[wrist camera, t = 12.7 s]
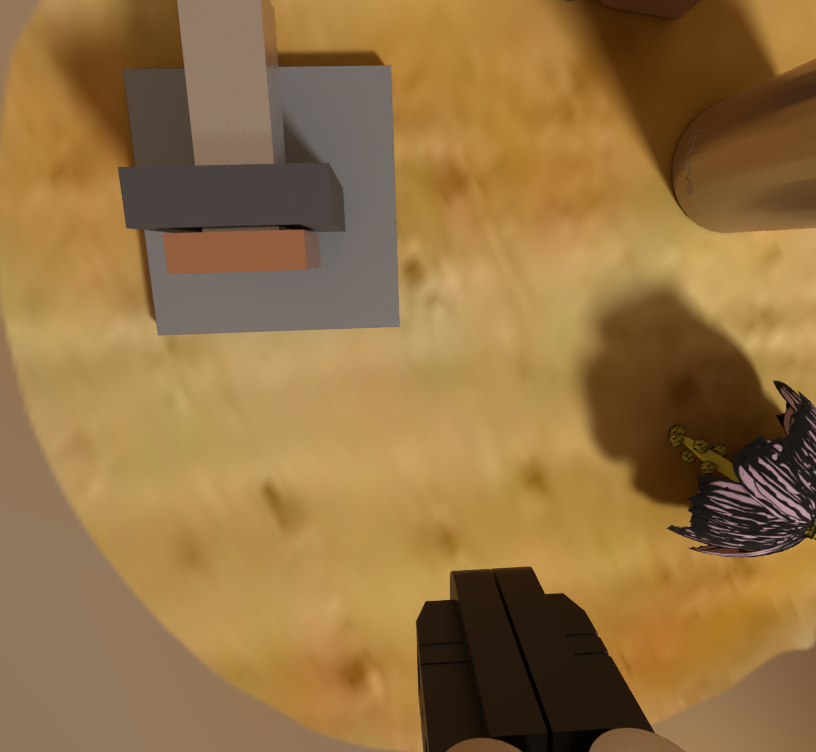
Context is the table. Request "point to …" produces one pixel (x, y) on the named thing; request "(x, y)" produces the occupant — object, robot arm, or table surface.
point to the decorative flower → (756, 488)
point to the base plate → (339, 251)
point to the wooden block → (652, 6)
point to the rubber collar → (232, 197)
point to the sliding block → (235, 132)
